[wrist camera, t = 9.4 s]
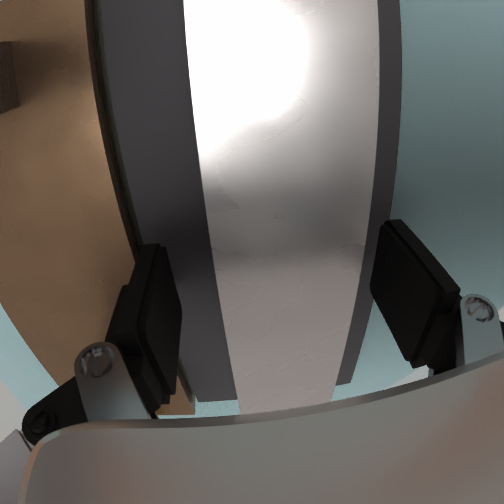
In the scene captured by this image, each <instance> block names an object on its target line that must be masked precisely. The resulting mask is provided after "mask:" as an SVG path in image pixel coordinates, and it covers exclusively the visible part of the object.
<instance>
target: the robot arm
mask: <svg viewBox="0 0 504 504" xmlns="http://www.w3.org/2000/svg"><path fill="white" fill-rule="evenodd" d="M460 290H461V289H460V288H459V286H458V285H457V284H456V283H455V281H454V280H453V279H452V278H451V276H450V275H449V274H448V273H447V271H446V270H445V269H444V268H443V267H442V265H441V264H440V263H439V262H438V261H437V259H436V258H435V257H434V256H433V255H432V253H431V252H430V251H429V250H428V249H427V248H426V247H425V245H424V244H423V243H422V242H421V241H420V240H419V239H418V237H417V236H416V235H415V234H414V233H413V232H412V231H411V230H410V229H409V227H408V226H407V225H406V224H405V223H404V222H403V221H402V220H400V219H398V220H386V221H385V222H384V225H381V226H380V229H379V235H378V242H377V248H376V253H375V259H374V264H373V270H372V275H371V280H370V292H371V294H372V296H373V298H374V300H375V302H376V304H377V306H378V307H379V309H380V311H381V313H382V315H383V317H384V319H385V321H386V323H387V325H388V327H389V329H390V331H391V333H392V335H393V337H394V339H395V341H396V343H397V345H398V347H399V349H400V351H401V353H402V355H403V357H404V359H405V360H406V361H409V362H410V364H411V366H412V368H413V369H414V368H418V367H421V366H424V365H427V367H428V368H429V375H428V378H425V379H421V380H418V381H415V382H411V383H408V384H404V385H401V386H397V387H393V388H389V389H386V390H382V391H378V392H374V393H370V394H365V395H361V396H357V397H352V398H347V399H343V400H338V401H333V402H327V403H322V404H316V405H311V406H305V407H298V408H292V409H285V410H278V411H270V412H262V413H253V414H243V415H232V416H218V417H201V418H179V419H159V418H158V416H157V414H156V411H157V410H158V409H159V408H160V407H161V405H162V404H170V395H175V393H176V383H177V370H178V357H179V345H180V334H181V324H182V306H181V303H180V299H179V295H178V292H177V288H176V284H175V281H174V277H173V273H172V269H171V265H170V262H169V258H168V254H167V250H166V247H161V246H160V244H159V243H153V244H145V245H142V246H141V249H140V252H139V255H138V258H137V260H136V263H135V266H134V269H133V272H132V275H131V278H130V281H129V284H127V285H123V286H122V288H121V290H120V293H119V296H118V299H117V302H116V305H115V308H114V311H113V314H112V318H111V321H110V324H109V327H108V331H107V334H106V337H105V341H104V342H96V343H93V344H90V345H88V346H87V347H85V348H84V349H83V350H82V351H81V352H80V353H79V354H78V356H77V357H76V359H75V362H74V373H75V376H74V377H72V378H71V379H69V380H68V381H67V382H65V383H64V384H63V385H61V386H60V387H58V388H57V389H56V390H54V391H53V392H51V393H50V394H49V395H47V396H46V397H45V398H43V399H42V400H40V401H39V402H38V403H36V404H35V405H33V406H32V407H31V408H30V409H29V410H28V411H27V412H26V414H25V416H24V418H23V422H22V430H21V431H18V430H17V429H15V430H14V431H13V432H12V433H11V434H10V435H9V436H7V437H6V438H5V439H4V440H3V441H2V442H1V443H0V504H504V322H501V321H500V320H499V315H498V312H497V309H496V307H495V306H494V304H493V303H492V302H491V301H490V300H489V299H487V298H485V297H483V296H481V295H478V294H468V295H466V296H464V297H463V298H462V297H461V296H460V294H459V293H460Z"/></svg>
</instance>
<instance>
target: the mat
mask: <svg viewBox="0 0 504 504" xmlns="http://www.w3.org/2000/svg"><path fill="white" fill-rule="evenodd" d="M377 5H378V23H379V111H378V131H377V146H376V159H375V170H374V180H373V190H372V199H371V207H370V215H369V222H368V229H367V236H366V243H365V249H364V256H363V262H362V268H361V273H360V279H359V284H358V290H357V295H356V300H355V305H354V310H353V314H352V319H351V324H350V328H349V333H348V337H347V341H346V345H345V350H344V354H343V358H342V362H341V366H340V370H339V373H338V377H337V381H336V384H335V386H337V385H342V384H347V383H350V382H351V379H352V376H353V373H354V369H355V366H356V363H357V360H358V356H359V353H360V349H361V346H362V342H363V338H364V335H365V331H366V327H367V323H368V320H369V316H370V312H371V308H372V303H373V299H374V298H373V296H372V294H371V292H370V280H371V275H372V270H373V264H374V259H375V253H376V248H377V242H378V235H379V229H380V226H381V225H384V222H385V221H386V220H389V217H390V211H391V204H392V197H393V189H394V181H395V173H396V163H397V153H398V142H399V129H400V112H401V86H402V45H401V19H400V4H399V0H377ZM101 14H102V26H103V37H104V47H105V56H106V64H107V72H108V79H109V86H110V93H111V99H112V105H113V111H114V117H115V123H116V128H117V134H118V139H119V144H120V149H121V154H122V159H123V163H124V168H125V173H126V177H127V181H128V186H129V190H130V194H131V198H132V202H133V207H134V210H135V214H136V218H137V222H138V226H139V230H140V233H141V237H142V241H143V244H144V245H145V244H153V243H159V244H160V246H161V247H166V250H167V254H168V258H169V262H170V265H171V269H172V273H173V277H174V281H175V284H176V288H177V292H178V295H179V299H180V303H181V306H182V324H181V334H180V345H179V354H180V357H181V360H182V362H183V365H184V368H185V370H186V373H187V375H188V378H189V380H190V383H191V385H192V388H193V390H194V393H195V395H196V397H197V400H198V402H209V401H224V400H236V399H238V398H237V393H236V388H235V382H234V377H233V372H232V367H231V361H230V356H229V350H228V345H227V339H226V334H225V328H224V322H223V317H222V311H221V305H220V299H219V293H218V287H217V281H216V274H215V268H214V262H213V255H212V249H211V242H210V235H209V228H208V221H207V214H206V207H205V200H204V193H203V185H202V178H201V170H200V162H199V154H198V146H197V138H196V129H195V120H194V111H193V102H192V92H191V83H190V72H189V62H188V51H187V39H186V27H185V14H184V0H101Z"/></svg>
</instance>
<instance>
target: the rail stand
mask: <svg viewBox="0 0 504 504" xmlns="http://www.w3.org/2000/svg"><path fill="white" fill-rule="evenodd" d="M142 245H144V244H143V241H142V237H141V233H140V230H139V226H138V222H137V218H136V214H135V210H134V207H133V202H132V198H131V194H130V190H129V186H128V181H127V177H126V173H125V168H124V163H123V159H122V154H121V149H120V144H119V139H118V134H117V128H116V123H115V117H114V111H113V105H112V99H111V93H110V86H109V79H108V72H107V64H106V56H105V47H104V37H103V26H102V14H101V0H2V1H0V303H1V305H2V307H3V308H4V310H5V311H6V313H7V315H8V316H9V318H10V319H11V321H12V323H13V324H14V326H15V327H16V329H17V330H18V332H19V333H20V335H21V336H22V338H23V339H24V341H25V342H26V343H27V345H28V346H29V348H30V349H31V350H32V352H33V353H34V355H35V356H36V357H37V359H38V360H39V361H40V363H41V364H42V365H43V367H44V368H45V369H46V370H47V372H48V373H49V374H50V375H51V377H52V378H53V379H54V380H55V382H56V383H57V384H58V385H59V387H60V386H61V385H63V384H64V383H65V382H67V381H68V380H69V379H71V378H72V377H74V376H75V373H74V362H75V359H76V357H77V356H78V354H79V353H80V352H81V351H82V350H83V349H84V348H85V347H87V346H88V345H90V344H93V343H96V342H104V341H105V337H106V334H107V331H108V327H109V324H110V321H111V318H112V314H113V311H114V308H115V305H116V302H117V299H118V296H119V293H120V290H121V288H122V286H123V285H127V284H129V281H130V278H131V275H132V272H133V269H134V266H135V263H136V260H137V258H138V255H139V252H140V249H141V246H142ZM156 414H157V415H193V414H195V393H194V390H193V388H192V385H191V383H190V380H189V378H188V375H187V373H186V370H185V368H184V365H183V362H182V360H181V357H180V354H179V357H178V370H177V383H176V393H175V395H170V404H162V405H161V407H160V408H159V409H158V410H157V411H156Z"/></svg>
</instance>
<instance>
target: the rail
mask: <svg viewBox="0 0 504 504" xmlns="http://www.w3.org/2000/svg"><path fill="white" fill-rule="evenodd" d="M184 14H185V27H186V39H187V51H188V62H189V72H190V83H191V92H192V102H193V111H194V120H195V129H196V138H197V146H198V154H199V162H200V170H201V178H202V185H203V193H204V200H205V207H206V214H207V221H208V228H209V235H210V242H211V249H212V255H213V262H214V268H215V274H216V281H217V287H218V293H219V299H220V305H221V311H222V317H223V322H224V328H225V334H226V339H227V345H228V350H229V356H230V361H231V367H232V372H233V377H234V382H235V388H236V393H237V398H238V403H239V408H240V413H241V415H243V414H253V413H262V412H270V411H278V410H285V409H292V408H298V407H305V406H311V405H316V404H322V403H327V402H331V399H332V395H333V392H334V388H335V384H336V381H337V377H338V373H339V370H340V366H341V362H342V358H343V354H344V350H345V345H346V341H347V337H348V333H349V328H350V324H351V319H352V314H353V310H354V305H355V300H356V295H357V290H358V284H359V279H360V273H361V268H362V262H363V256H364V249H365V243H366V236H367V229H368V222H369V215H370V207H371V199H372V190H373V180H374V170H375V159H376V146H377V131H378V111H379V23H378V5H377V0H184Z"/></svg>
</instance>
